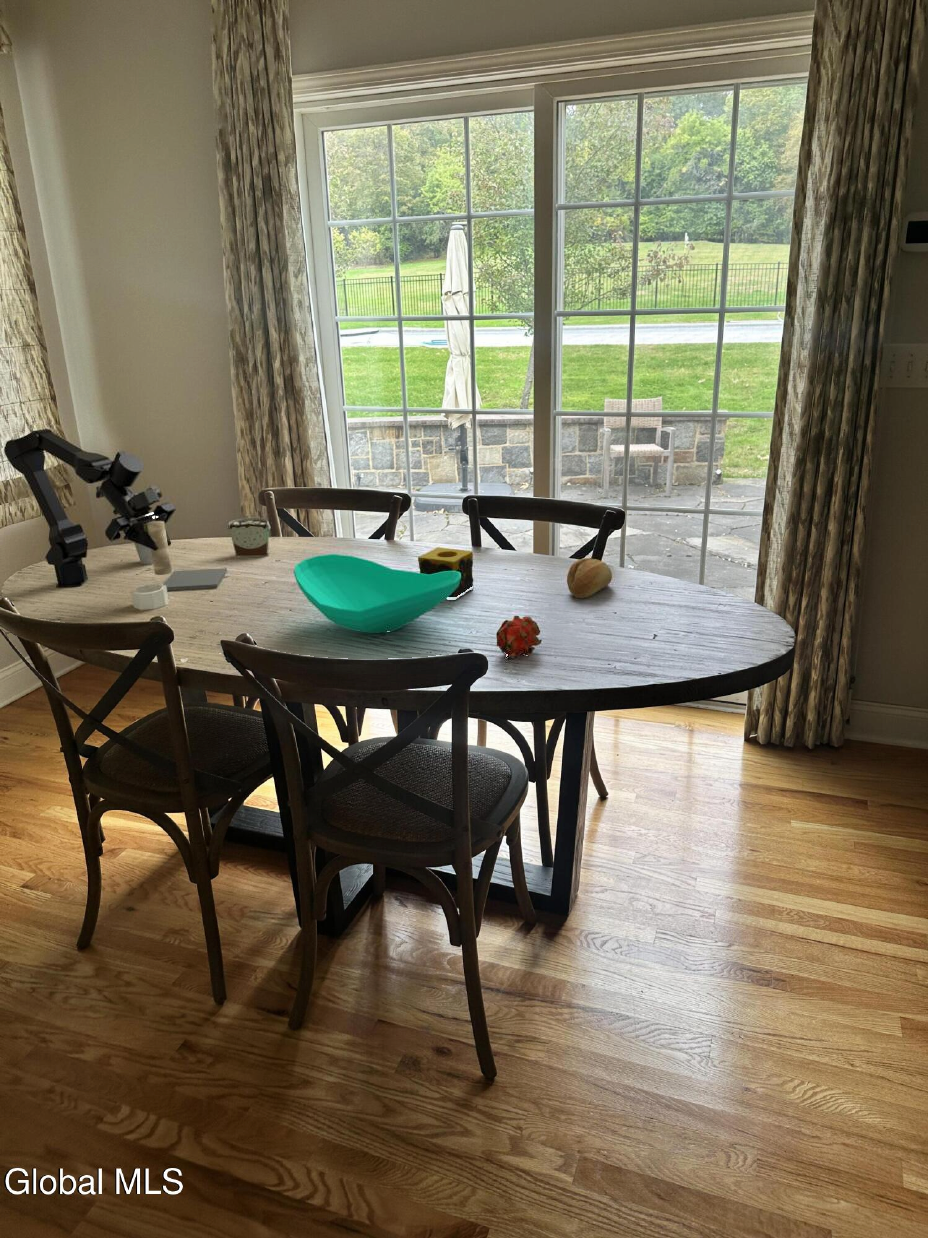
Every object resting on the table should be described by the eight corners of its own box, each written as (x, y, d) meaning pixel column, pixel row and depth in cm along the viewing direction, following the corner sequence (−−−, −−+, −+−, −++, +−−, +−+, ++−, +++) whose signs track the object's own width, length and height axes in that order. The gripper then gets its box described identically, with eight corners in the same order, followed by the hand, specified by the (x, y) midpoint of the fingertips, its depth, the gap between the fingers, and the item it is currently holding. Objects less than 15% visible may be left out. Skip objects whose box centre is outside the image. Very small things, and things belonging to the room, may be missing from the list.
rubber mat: (161, 591, 218) (161, 587, 218) (174, 574, 231) (174, 570, 231) (217, 587, 219) (216, 584, 219) (227, 571, 232) (226, 568, 232)
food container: (279, 550, 250) (275, 516, 247) (272, 556, 245) (268, 522, 241) (238, 550, 252) (234, 517, 248) (231, 556, 246) (226, 522, 242)
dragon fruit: (534, 650, 178) (510, 680, 169) (503, 624, 179) (477, 652, 169) (555, 624, 172) (532, 654, 163) (522, 598, 173) (497, 626, 164)
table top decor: (269, 634, 187) (262, 576, 183) (346, 596, 210) (341, 543, 205) (421, 666, 168) (418, 602, 164) (488, 620, 190) (487, 563, 186)
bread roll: (557, 598, 203) (557, 566, 200) (581, 580, 215) (582, 550, 212) (595, 604, 198) (596, 571, 196) (618, 585, 211) (619, 554, 208)
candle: (418, 596, 208) (416, 557, 204) (438, 584, 216) (436, 546, 212) (455, 602, 203) (453, 561, 200) (474, 589, 211) (473, 550, 208)
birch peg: (154, 575, 208) (145, 525, 204) (155, 570, 212) (147, 521, 208) (171, 574, 209) (163, 524, 205) (172, 569, 213) (164, 520, 208)
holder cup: (131, 610, 205) (128, 594, 204) (139, 599, 212) (137, 584, 211) (163, 608, 205) (160, 592, 204) (171, 598, 213) (168, 582, 211)
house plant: (120, 558, 248) (110, 502, 242) (170, 551, 253) (161, 496, 248) (124, 571, 236) (114, 513, 230) (176, 563, 241) (167, 506, 235)
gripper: (105, 485, 196) (148, 536, 196) (164, 470, 212) (204, 517, 211) (86, 516, 202) (129, 565, 202) (145, 499, 218) (185, 545, 217)
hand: (163, 547), depth 208 cm, fingers closed on birch peg, 4 cm apart
